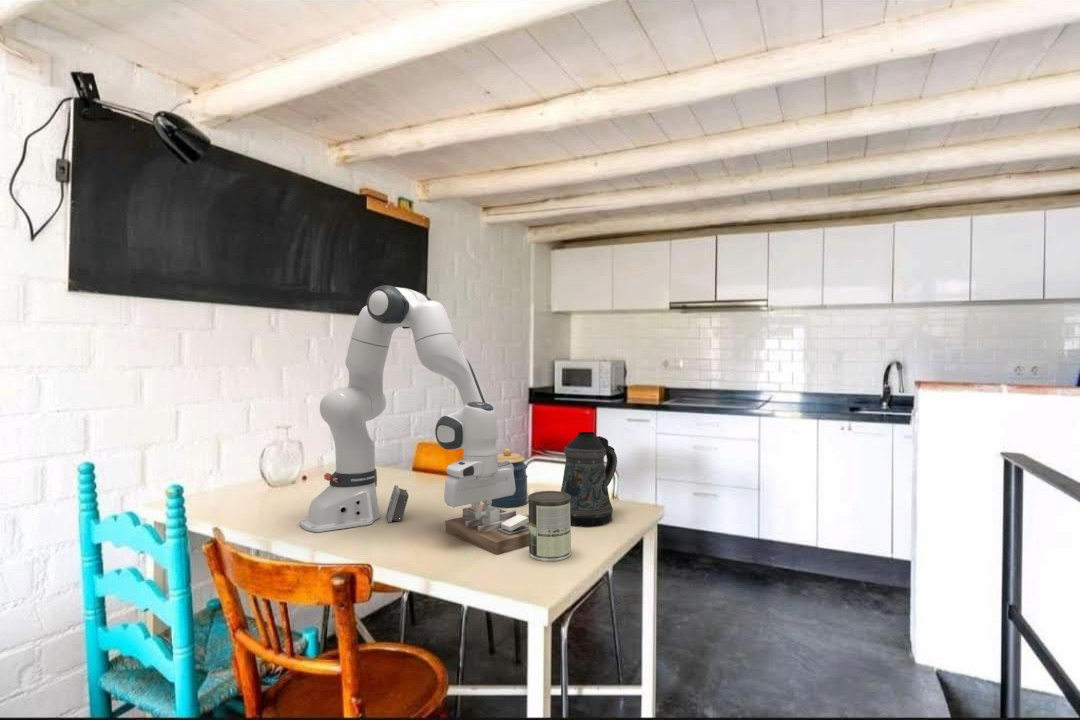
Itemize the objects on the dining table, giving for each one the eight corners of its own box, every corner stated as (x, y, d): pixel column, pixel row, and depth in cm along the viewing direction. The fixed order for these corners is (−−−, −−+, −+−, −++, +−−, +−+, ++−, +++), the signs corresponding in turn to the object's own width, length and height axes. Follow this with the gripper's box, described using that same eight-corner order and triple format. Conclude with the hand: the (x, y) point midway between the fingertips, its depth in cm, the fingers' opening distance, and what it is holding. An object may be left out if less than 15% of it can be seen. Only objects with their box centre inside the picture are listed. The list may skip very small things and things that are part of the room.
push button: (479, 520, 157) (479, 511, 157) (469, 516, 161) (469, 507, 161) (494, 517, 160) (494, 508, 160) (484, 513, 164) (484, 504, 164)
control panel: (496, 554, 140) (496, 532, 140) (445, 531, 158) (445, 511, 158) (553, 538, 151) (552, 517, 151) (498, 518, 170) (498, 500, 170)
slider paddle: (490, 527, 151) (490, 512, 151) (481, 523, 154) (481, 508, 154) (499, 525, 153) (499, 509, 153) (491, 521, 156) (490, 506, 156)
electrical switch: (386, 515, 175) (388, 484, 175) (403, 515, 177) (406, 484, 177) (388, 523, 166) (390, 491, 166) (406, 523, 168) (409, 491, 168)
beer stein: (546, 523, 165) (545, 435, 165) (573, 506, 183) (572, 427, 182) (601, 530, 158) (600, 438, 158) (623, 512, 176) (623, 429, 175)
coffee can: (519, 555, 139) (519, 496, 139) (546, 544, 147) (546, 488, 147) (553, 565, 133) (553, 503, 133) (579, 552, 141) (579, 494, 141)
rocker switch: (510, 531, 146) (510, 526, 146) (501, 527, 149) (500, 523, 149) (529, 521, 149) (528, 517, 149) (519, 518, 153) (518, 514, 152)
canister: (502, 495, 197) (502, 444, 197) (535, 500, 190) (534, 446, 190) (479, 504, 186) (479, 449, 186) (513, 510, 179) (512, 453, 179)
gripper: (506, 458, 160) (506, 508, 160) (440, 468, 147) (441, 522, 147) (520, 461, 155) (520, 512, 156) (453, 472, 142) (454, 528, 142)
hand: (481, 517), depth 151 cm, fingers closed
